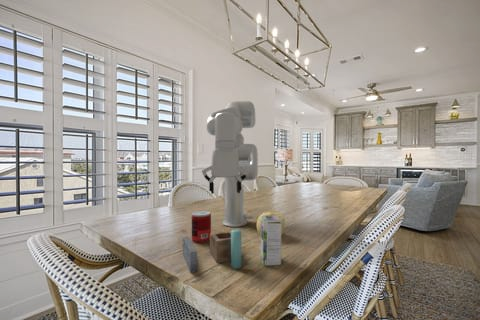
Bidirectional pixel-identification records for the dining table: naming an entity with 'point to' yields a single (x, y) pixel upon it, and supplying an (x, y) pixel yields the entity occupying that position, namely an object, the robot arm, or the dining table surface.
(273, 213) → the sculpture
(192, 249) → the wall
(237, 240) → the dowel
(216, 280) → the dining table surface
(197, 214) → the canned food
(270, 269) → the dining table surface
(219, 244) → the brown wooden open box
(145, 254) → the dining table surface
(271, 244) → the syrup box
